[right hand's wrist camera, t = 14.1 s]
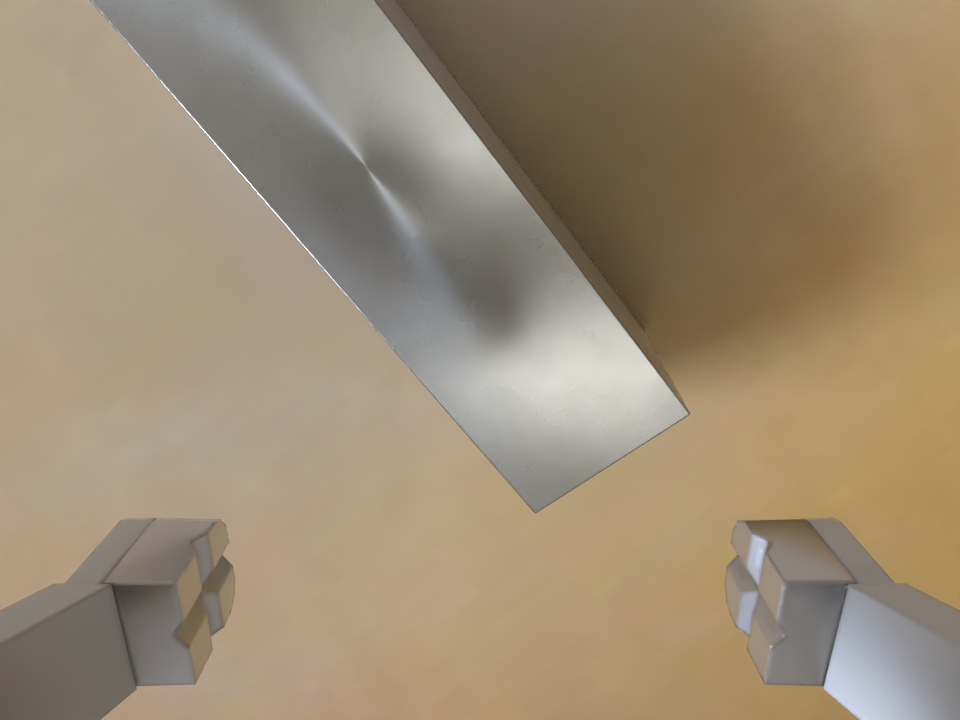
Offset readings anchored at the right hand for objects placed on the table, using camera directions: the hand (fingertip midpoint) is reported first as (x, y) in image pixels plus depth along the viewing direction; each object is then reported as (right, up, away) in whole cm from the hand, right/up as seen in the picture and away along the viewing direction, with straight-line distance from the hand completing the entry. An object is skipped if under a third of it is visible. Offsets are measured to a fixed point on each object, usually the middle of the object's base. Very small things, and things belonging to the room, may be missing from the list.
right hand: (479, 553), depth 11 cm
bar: (-2, +11, +15) cm, 19 cm away
